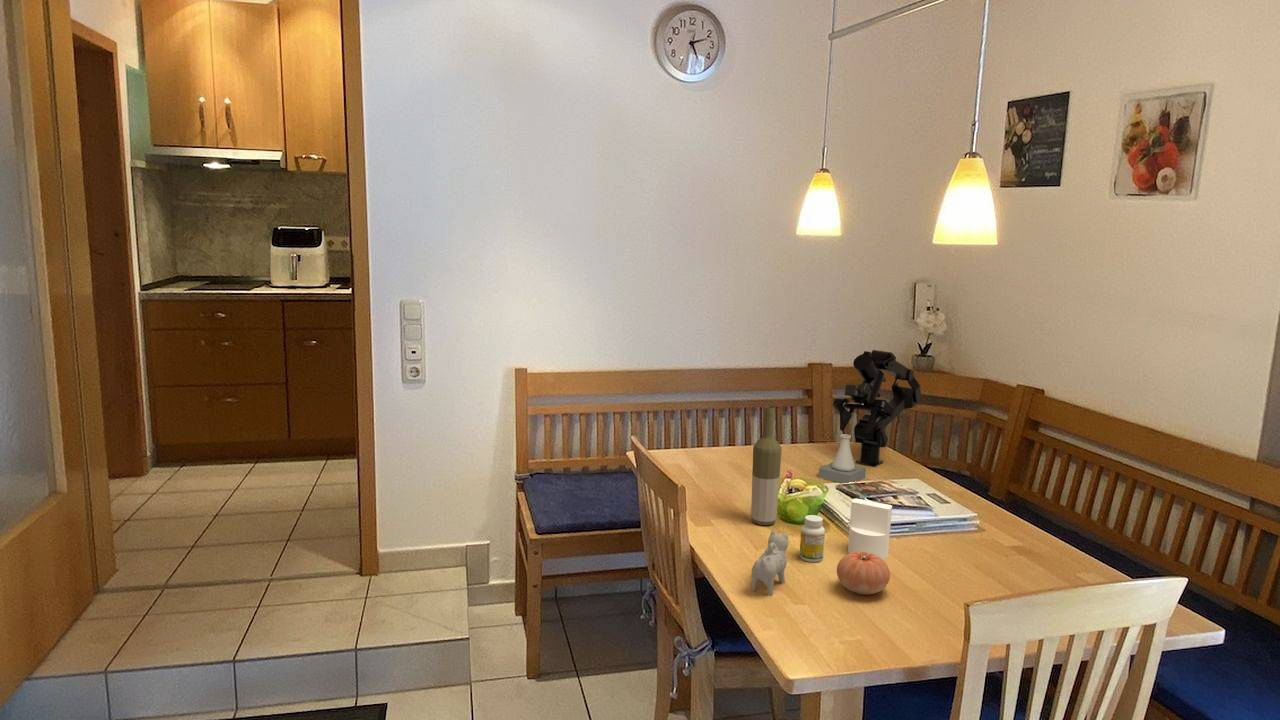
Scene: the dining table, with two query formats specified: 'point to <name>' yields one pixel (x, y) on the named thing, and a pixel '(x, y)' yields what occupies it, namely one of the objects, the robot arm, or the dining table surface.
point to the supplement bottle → (812, 539)
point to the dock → (842, 474)
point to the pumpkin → (863, 572)
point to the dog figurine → (771, 562)
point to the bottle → (766, 473)
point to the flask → (844, 455)
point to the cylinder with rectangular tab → (869, 527)
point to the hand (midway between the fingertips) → (853, 431)
